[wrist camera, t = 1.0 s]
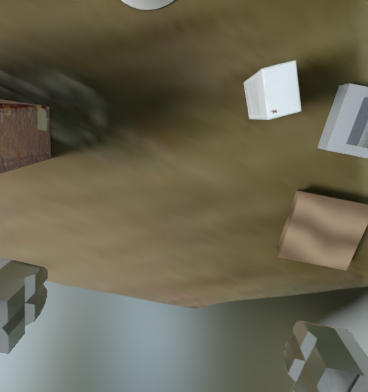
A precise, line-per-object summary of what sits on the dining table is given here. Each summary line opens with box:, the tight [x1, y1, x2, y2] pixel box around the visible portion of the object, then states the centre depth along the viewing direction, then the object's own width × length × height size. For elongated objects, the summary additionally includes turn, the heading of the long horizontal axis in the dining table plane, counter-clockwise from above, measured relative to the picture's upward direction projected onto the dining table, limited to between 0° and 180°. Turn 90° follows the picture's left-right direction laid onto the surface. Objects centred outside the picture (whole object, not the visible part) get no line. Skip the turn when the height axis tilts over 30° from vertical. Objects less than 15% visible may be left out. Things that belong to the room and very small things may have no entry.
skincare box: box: [244, 60, 301, 120], centre depth 36 cm, size 6×4×12 cm
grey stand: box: [317, 84, 368, 158], centre depth 40 cm, size 10×10×3 cm
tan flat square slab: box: [277, 190, 368, 270], centre depth 46 cm, size 13×13×3 cm
